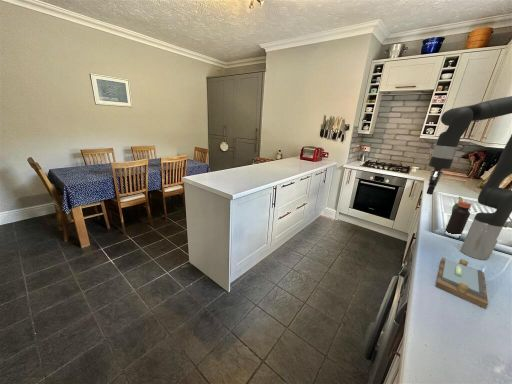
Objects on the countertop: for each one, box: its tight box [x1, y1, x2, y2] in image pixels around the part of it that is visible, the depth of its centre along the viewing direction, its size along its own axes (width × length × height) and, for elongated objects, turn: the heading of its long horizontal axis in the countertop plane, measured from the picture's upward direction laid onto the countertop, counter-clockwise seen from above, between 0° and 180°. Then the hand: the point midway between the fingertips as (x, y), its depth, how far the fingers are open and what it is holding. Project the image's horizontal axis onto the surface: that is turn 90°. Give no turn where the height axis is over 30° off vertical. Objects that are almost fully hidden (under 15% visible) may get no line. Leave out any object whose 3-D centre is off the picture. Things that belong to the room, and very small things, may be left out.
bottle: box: [444, 200, 472, 235], centre depth 114 cm, size 7×7×20 cm
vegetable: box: [451, 196, 464, 213], centre depth 124 cm, size 4×4×20 cm
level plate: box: [442, 258, 485, 297], centre depth 79 cm, size 17×11×3 cm, turn 135°
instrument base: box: [435, 257, 489, 309], centre depth 80 cm, size 23×13×4 cm, turn 135°
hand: (429, 193), depth 96 cm, fingers closed
